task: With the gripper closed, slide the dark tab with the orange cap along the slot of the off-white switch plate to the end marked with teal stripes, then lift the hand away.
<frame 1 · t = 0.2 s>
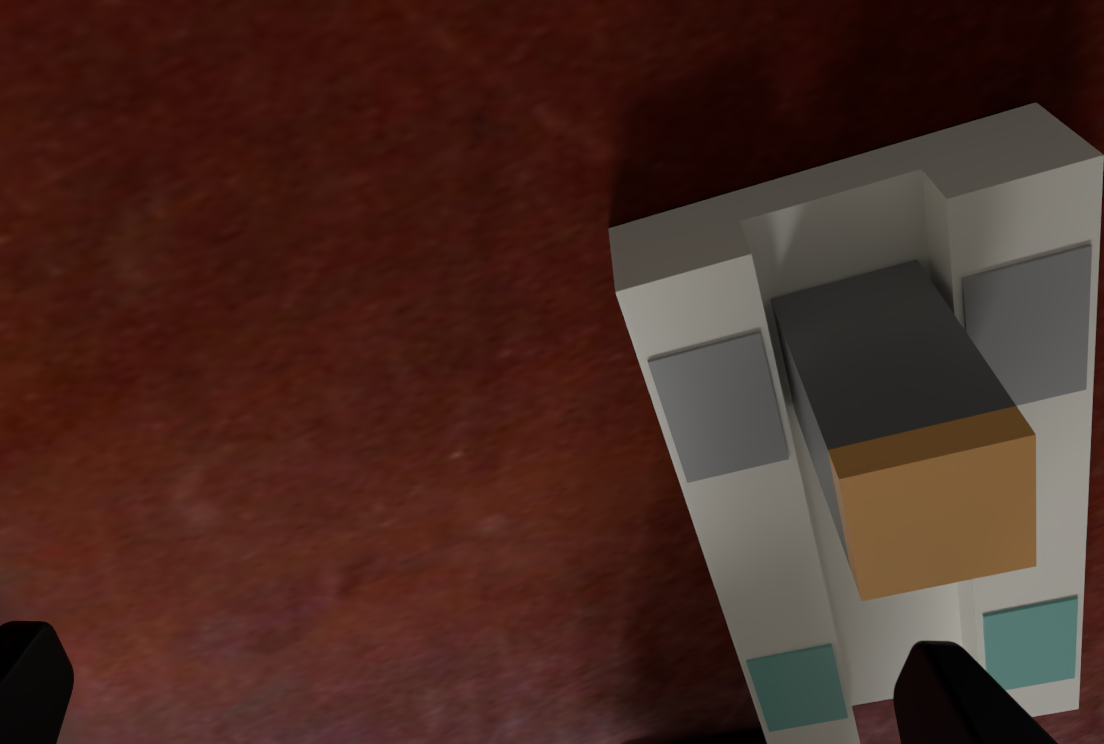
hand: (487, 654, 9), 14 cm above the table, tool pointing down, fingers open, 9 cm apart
switch tab: (890, 420, 19), point 5 cm above the table, slide at 0.0 cm
switch plate: (861, 466, 26), on the table
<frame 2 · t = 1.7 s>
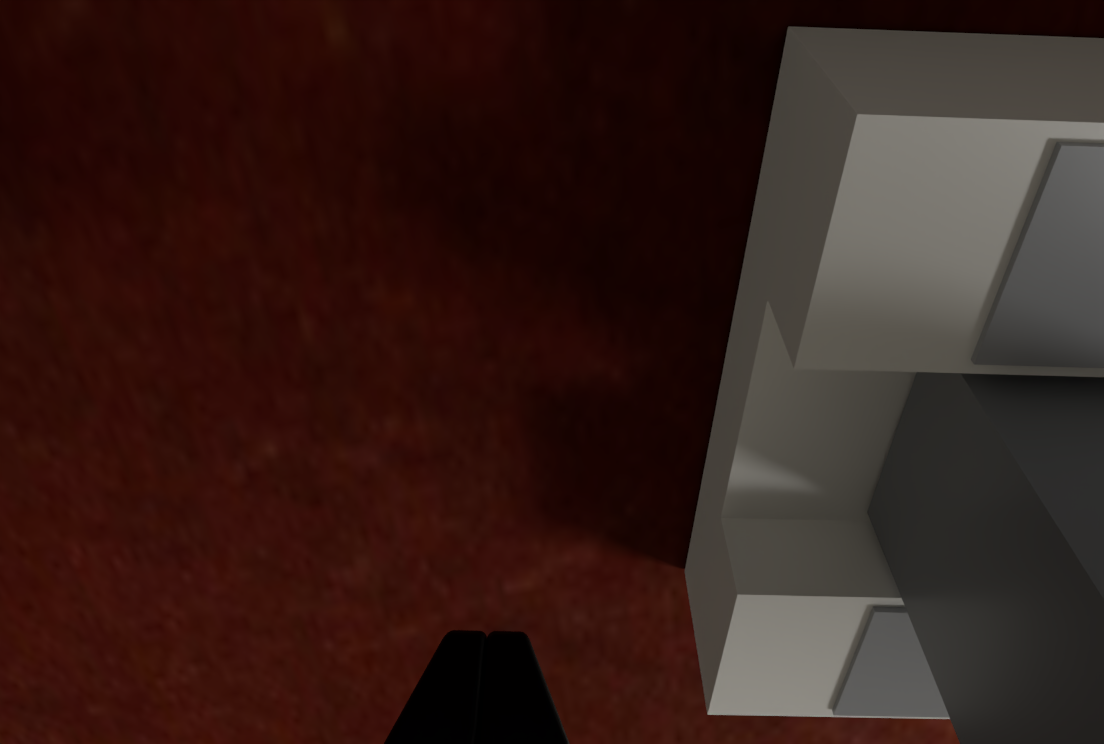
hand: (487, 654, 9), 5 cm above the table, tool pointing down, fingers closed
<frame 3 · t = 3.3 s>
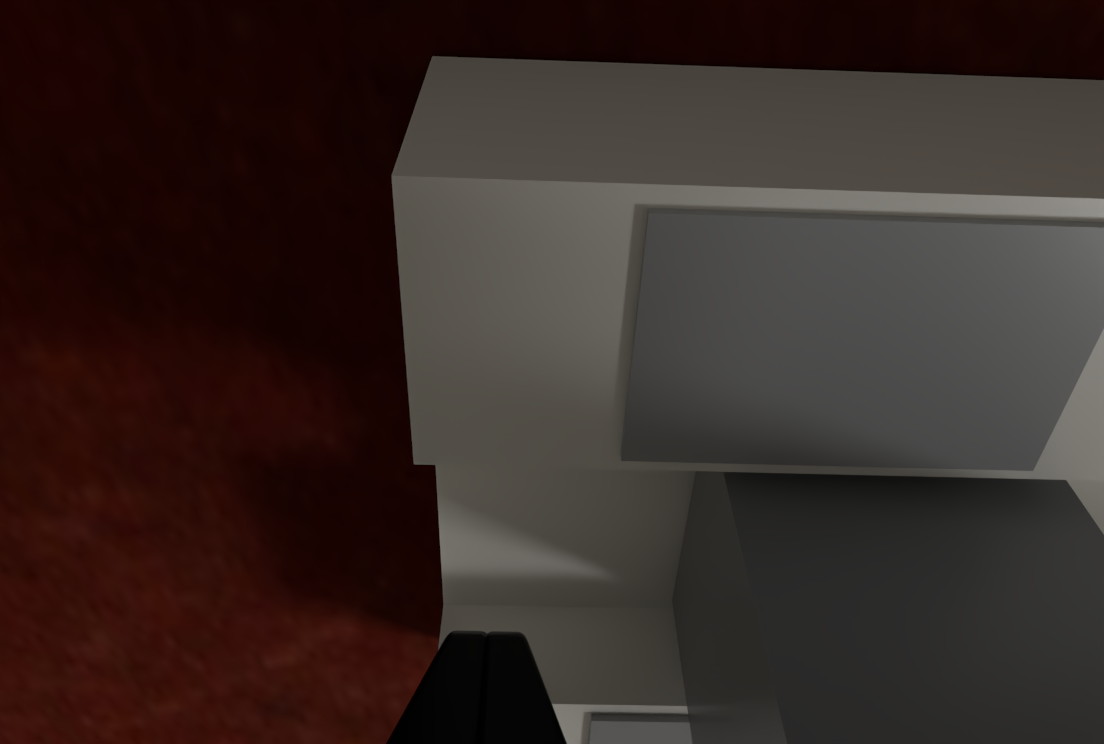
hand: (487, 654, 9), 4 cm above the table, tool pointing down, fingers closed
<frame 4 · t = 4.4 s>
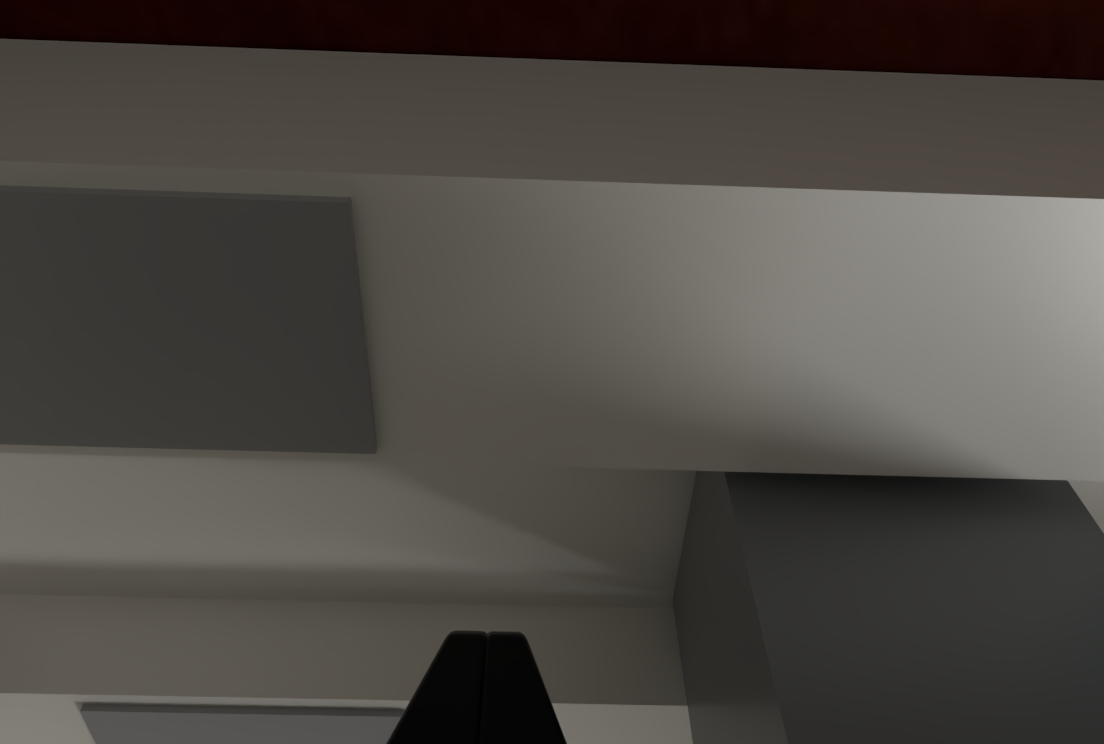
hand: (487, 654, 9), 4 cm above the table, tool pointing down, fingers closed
switch plate: (711, 429, 12), on the table
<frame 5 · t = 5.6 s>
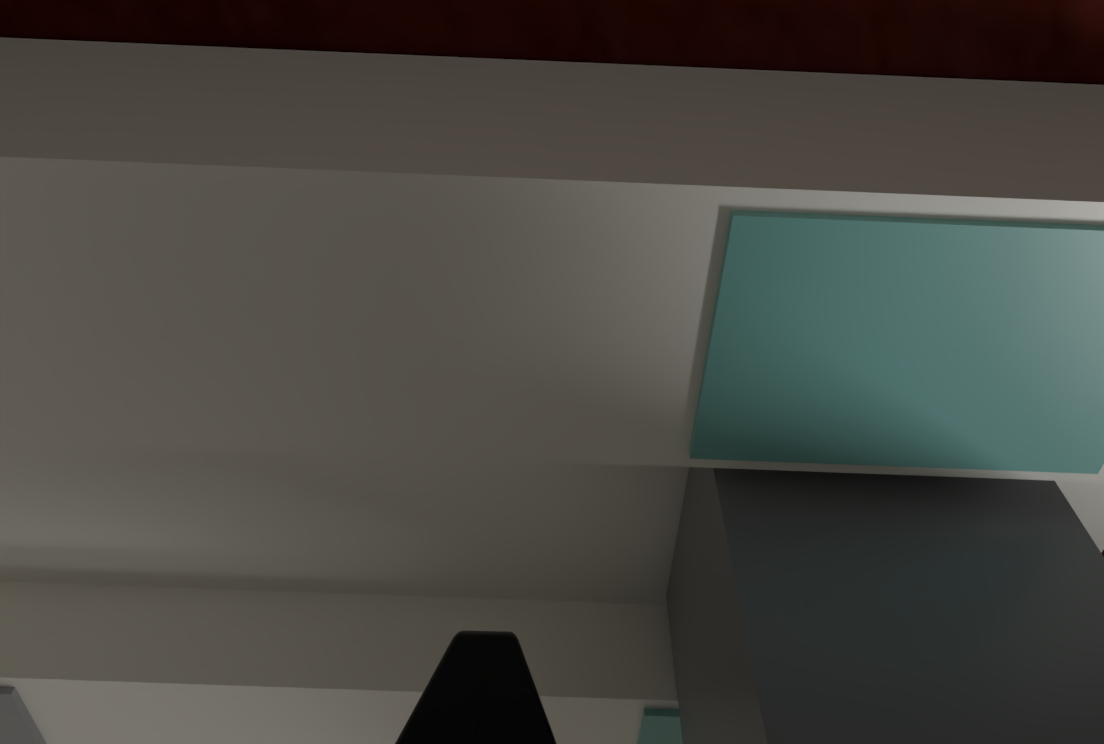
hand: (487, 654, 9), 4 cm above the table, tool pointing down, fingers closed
switch plate: (359, 415, 12), on the table
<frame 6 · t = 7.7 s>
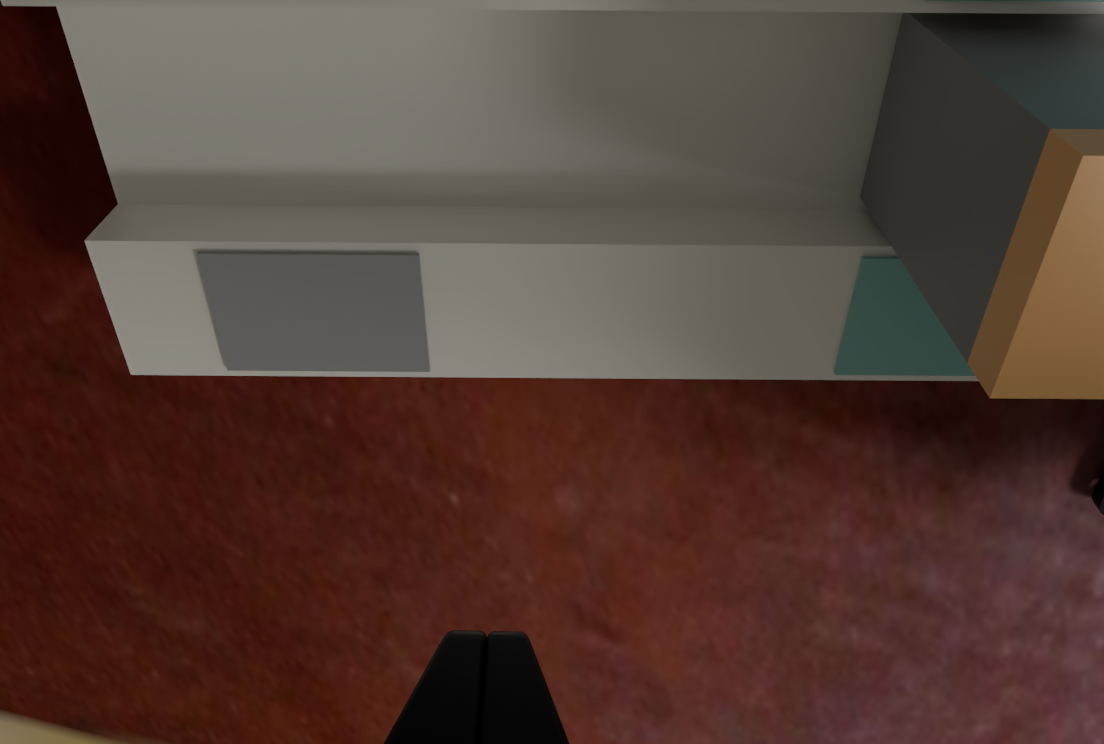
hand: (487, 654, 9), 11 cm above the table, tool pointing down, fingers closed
switch tab: (1061, 182, 13), point 5 cm above the table, slide at 12.1 cm
switch plate: (636, 78, 17), on the table
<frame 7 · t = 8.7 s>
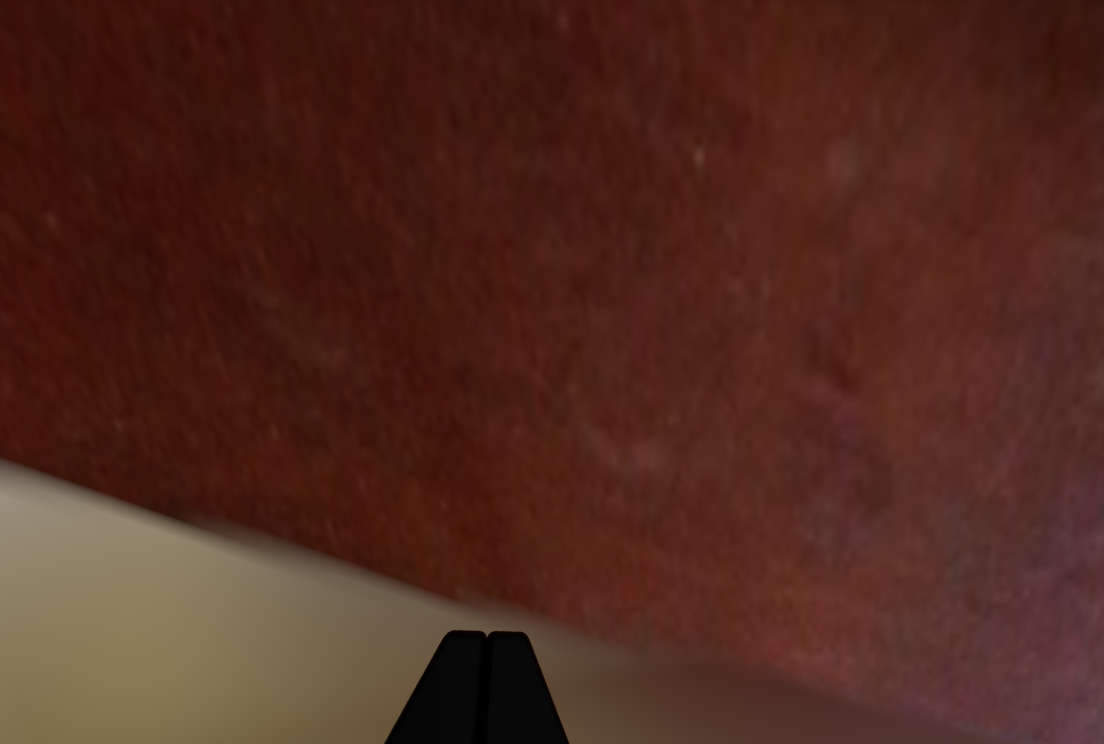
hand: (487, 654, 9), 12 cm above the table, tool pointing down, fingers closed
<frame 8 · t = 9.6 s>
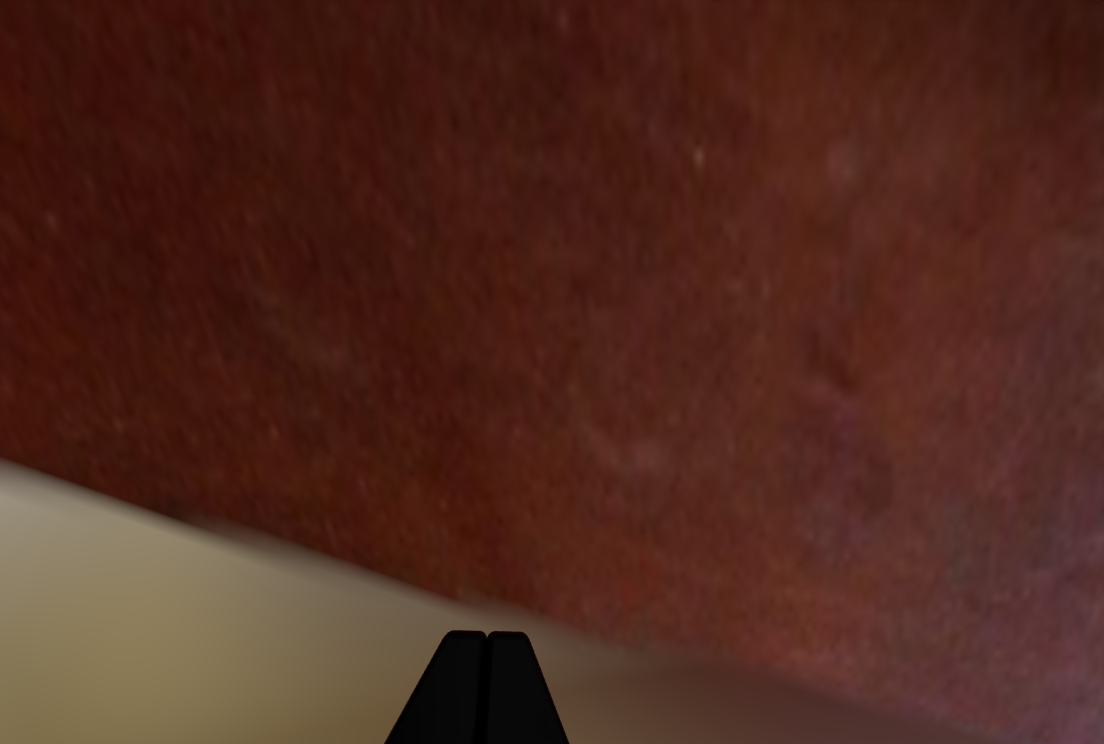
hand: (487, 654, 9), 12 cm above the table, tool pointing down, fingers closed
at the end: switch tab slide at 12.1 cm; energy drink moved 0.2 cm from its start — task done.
